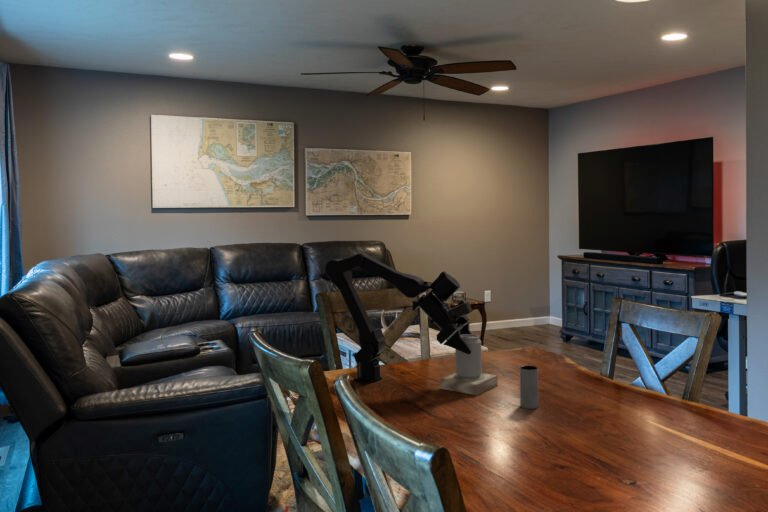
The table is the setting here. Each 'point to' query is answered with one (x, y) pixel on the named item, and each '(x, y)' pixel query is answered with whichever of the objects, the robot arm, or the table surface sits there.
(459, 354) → the can
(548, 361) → the table surface
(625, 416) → the table surface
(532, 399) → the grey cylinder
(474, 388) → the pedestal
